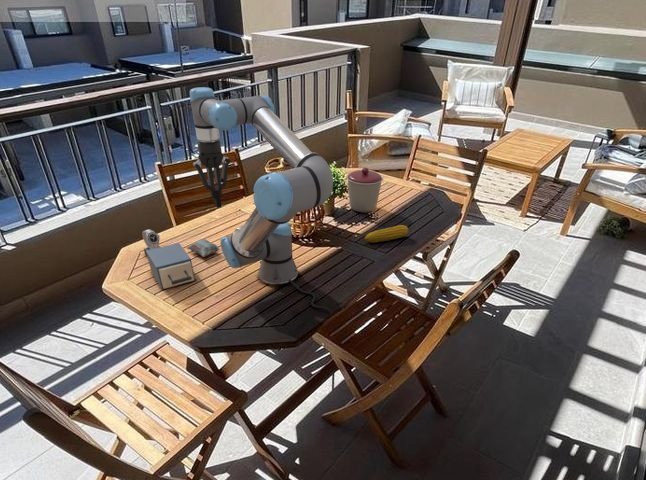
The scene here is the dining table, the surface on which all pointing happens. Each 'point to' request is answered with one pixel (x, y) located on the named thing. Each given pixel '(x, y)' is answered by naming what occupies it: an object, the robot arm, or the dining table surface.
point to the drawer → (176, 274)
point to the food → (387, 234)
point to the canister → (364, 189)
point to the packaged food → (203, 247)
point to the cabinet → (166, 259)
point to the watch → (150, 240)
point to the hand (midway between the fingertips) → (218, 206)
